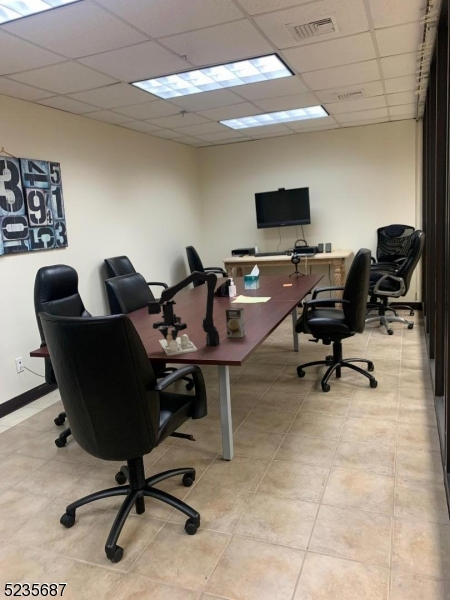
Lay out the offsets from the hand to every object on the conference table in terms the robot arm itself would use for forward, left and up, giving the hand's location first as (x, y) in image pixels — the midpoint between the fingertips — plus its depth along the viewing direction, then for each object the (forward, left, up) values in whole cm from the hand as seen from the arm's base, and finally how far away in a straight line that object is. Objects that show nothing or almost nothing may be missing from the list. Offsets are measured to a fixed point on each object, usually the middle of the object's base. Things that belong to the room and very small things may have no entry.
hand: (171, 341), depth 240 cm
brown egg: (0, 0, -2) cm, 2 cm away
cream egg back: (-5, -6, -4) cm, 8 cm away
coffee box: (-19, -34, -5) cm, 40 cm away
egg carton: (+1, -5, -5) cm, 7 cm away
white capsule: (-6, +5, -4) cm, 8 cm away
